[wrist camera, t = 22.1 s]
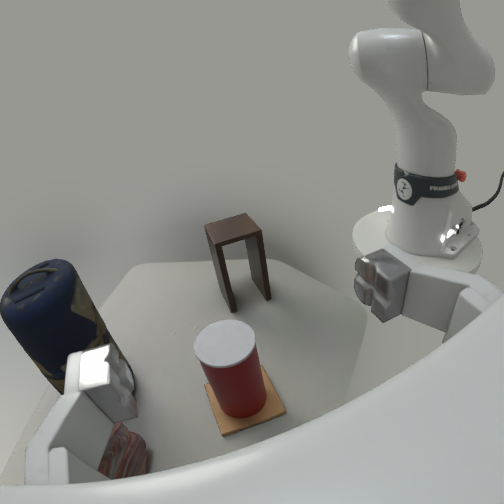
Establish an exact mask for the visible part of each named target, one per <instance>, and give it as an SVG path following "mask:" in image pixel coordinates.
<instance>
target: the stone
mask: <svg viewBox="0 0 504 504" xmlns="http://www.w3.org/2000/svg"><path fill="white" fill-rule="evenodd" d="M114 424H115V425H114V428H113V430H112V433H111V435H110V438H109V440H108V443H107V446H106V448H105V451H104V453H103V456H102V459H101V461H100V464H99V467H98V469H97V471H98V472H100V473H102V474H103V475H105V476H106V477H108V478H109V479H111V480H114V479H121V478H128V477H134V476H139V475H145V469H146V462H147V455H148V454H147V453H145V449H146V443H145V441H144V440H143V438H142V437H141V436H140V435H138V434H136V433H133V432H130V431H128V429H127V428H126V427H125V426H124V425H123V424H122V423H121V422H118V423H114Z"/></svg>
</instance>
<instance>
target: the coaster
mask: <svg viewBox="0 0 504 504" xmlns="http://www.w3.org/2000/svg"><path fill="white" fill-rule="evenodd" d="M260 367H261V371H262V376H263V381H264V385H265V390H266V395H267V398H266V402H265V405H264V406H263V408H262V409H261V410H260V411H259V412H258V413H256V414H255V415H252V416H250V417H246V418H235V417H232V416H229V415H227V414H226V413H225V412H224V411H223V410H222V409H221V407H220V405H219V403H218V401H217V399H216V397H215V394H214V392H213V390H212V388H211V386H210V384H209V383H207V384H204V386H205V389H206V392H207V395H208V398H209V401H210V404H211V407H212V410H213V413H214V415H215V418H216V421H217V424H218V427H219V429H220V432H221V435H222V436H225V435H228V434H231V433H234V432H237V431H240V430H243V429H246V428H249V427H251V426H254V425H257V424H260V423H262V422H265V421H268V420H270V419H273V418H275V417H278V416H280V415H283V414H285V413H286V409H285V408H284V406H283V404H282V402H281V400H280V398H279V397H278V395H277V393H276V391H275V389H274V387H273V385H272V383H271V382H270V380H269V378H268V376H267V374H266V372H265V370H264V368H263V366H262V365H260Z"/></svg>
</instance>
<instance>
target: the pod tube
mask: <svg viewBox="0 0 504 504" xmlns="http://www.w3.org/2000/svg"><path fill="white" fill-rule="evenodd" d="M194 352H195V354H196V357H197V358H198V359H199V361H200V363H201V365H202V368H203V370H204V372H205V375H206V377H207V379H208V381H209V384H210V386H211V388H212V390H213V392H214V394H215V397H216V399H217V401H218V403H219V405H220V407H221V409H222V410H223V411H224V412H225V413H226V414H227V415H229V416H232V417H235V418H246V417H250V416H252V415H255V414H256V413H258V412H259V411H260V410H261V409H262V408H263V406H264V405H265V402H266V398H267V395H266V390H265V385H264V381H263V376H262V371H261V367H260V362H259V357H258V353H257V348H256V338H255V333H254V331H253V330H252V328H251V327H250V326H249V325H247V324H246V323H244V322H241V321H238V320H222V321H217V322H214V323H212V324H210V325H208V326H207V327H205V328H204V329H202V330H201V331H200V333H199V334H198V335H197V337H196V339H195V341H194Z"/></svg>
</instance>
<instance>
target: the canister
mask: <svg viewBox="0 0 504 504" xmlns="http://www.w3.org/2000/svg"><path fill="white" fill-rule="evenodd" d="M0 314H1V316H2V319H3V321H4V323H5V324H6V325H7V327H8V328H9V330H10V331H11V332H12V334H13V335H14V336H15V338H16V339H17V341H18V342H19V343H20V345H21V346H22V347H23V349H24V350H25V351H26V353H27V354H28V355H29V356H30V358H31V359H32V360H33V362H34V363H35V364H36V365H37V367H38V368H39V369H40V371H41V372H42V374H43V375H44V376H45V377H46V378H47V380H48V381H49V382H50V383H51V384H52V385H53V386H54V387H55V389H56V390H57V391H58V392H59V393H60V394H61V395H64V387H65V376H66V367H67V359H68V356H69V355H70V354H71V353H75V352H79V351H83V350H86V349H90V348H94V347H98V346H102V345H105V344H109V343H112V344H114V346H115V347H116V349H117V350H118V353H119V358H120V359H122V360H124V361H125V362H126V364H127V365H128V367H129V369H130V372H131V374H132V378H133V381H134V375H133V371H132V369H131V367H130V365H129V363H128V362H127V360H126V359H125V357H124V355H123V354H122V352H121V351H120V349H119V348H118V346H117V344H116V343H115V341H114V340H113V338H112V336H111V335H110V333H109V331H108V330H107V328H106V325H105V323H104V321H103V319H102V318H101V316H100V314H99V313H98V311H97V309H96V307H95V305H94V304H93V302H92V300H91V298H90V296H89V294H88V292H87V290H86V289H85V287H84V285H83V283H82V281H81V279H80V277H79V275H78V274H77V271H76V270H75V268H74V267H73V265H72V264H70V263H69V262H68V261H66V260H62V259H53V260H49V261H44V262H42V263H39V264H37V265H35V266H33V267H32V268H30V269H28V270H27V271H25V272H24V273H23V274H21V275H20V276H19V277H18V278H16V279H15V280H14V281H13V282H12V283H11V284H10V286H9V287H8V288H7V290H6V291H5V293H4V294H3V296H2V299H1V302H0Z"/></svg>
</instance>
